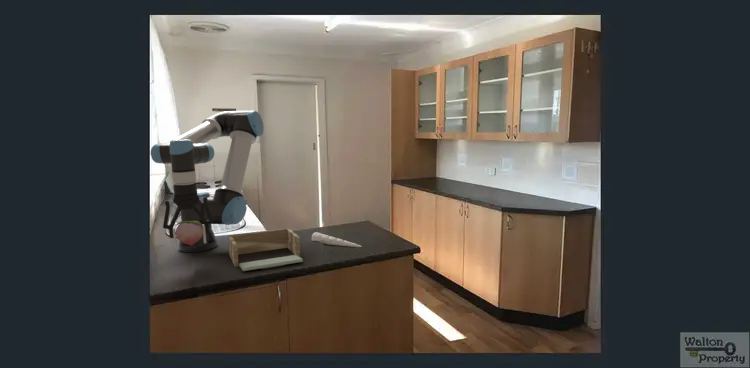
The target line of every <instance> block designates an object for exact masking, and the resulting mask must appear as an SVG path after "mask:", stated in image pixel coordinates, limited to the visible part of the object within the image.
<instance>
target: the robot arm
mask: <svg viewBox="0 0 750 368" xmlns="http://www.w3.org/2000/svg"><path fill="white" fill-rule="evenodd" d="M263 134H264V122H263V118H262V116H261V114H260V113H259V112H258V111H256V110H250V109H248V110H227V111H221V112H217V113H216V114H214V115H211V116H209V117H207V118H205V119H203V121H202V122H201V124H199V125H198V126H196V127H194V128H192V129H190V130H189V131H186V132H184V133H183V134H180V135H179V136H177V137H175V138H173V139H172V140H169V141H168V142H165V143H156V144H154V145H152V146H151V148H150V157H151V160H152V161H153V162H154V163H155V164H163V165H165V164H167V165H168V164H169V165H171V175H172V176H171V177H172V183H173V186H172V187H173V196H174V197H173V198H172V199H165V201H164V204H165V212H164V219H163V225H162V228H163V229H164V230H165V229H167V230H168V231H169V238H170V239H173V246H174V248H177V247H178V250H179V251H180V252H183V253H184V252H185V253H195V252H196V253H197V252H198V253H199V252H204V251H210V250H212V249H215V248H217V246H218V240H217V237H216V235H215V233H214V230H213V228H212V227H213V226H212V225H226V226H231V225H238V224H239V223H240V222H242V221H243V220H244V218H245V216H246V213H247V201H246V199H245V197H244V194H243V192H242V188H243V183H244V180H245V176H246V170H247V166H248V160H249V156H250V152H251V148H252V145H253V144H254V143H256V141H257V138H258V137H261V136H262V135H263ZM221 137H230V139H231V142H230V145H229V151H228V154H227V158H226V161H225V162H226V163H225V166H224V169H223V170H224V171H223V174H222V179H221V183H220V187H218V188H216V189H215V191H214V195H213V196H211V194H210V193H209V192H199V193H198V186H197V183H196V182H197V176H196V175H197V174H196V165H198V164H206V163H209V162H211V161H212V160H213V159H214V157H215V150H214V147H213V146H212V145H211V144H210V143H208V142H209V141H211V140H217V139H219V138H221ZM173 203H174V204H175V205H176V206H177V207H176V210H175V212H174V215H173V216H172V219H171V221H170V223H169V224H168V222H169V217H170V212H171V211H170V210H171V207H172V206H173ZM179 215H180V219H181V221H180V222H182V221H188V218H189V221H199V222H200V223H201V224H202V225H201V226H202V228H203V235H202V237H201V239H200V240H199V241H198V242H196V243H194V244H193V245H188V244H185V243H183V242H181V241H180V240H179V243H177V237H176V233H175V232H176V228H175V227H174V226H175V225H176V222H177V220H178V218H179ZM177 245H178V246H177Z"/></svg>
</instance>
